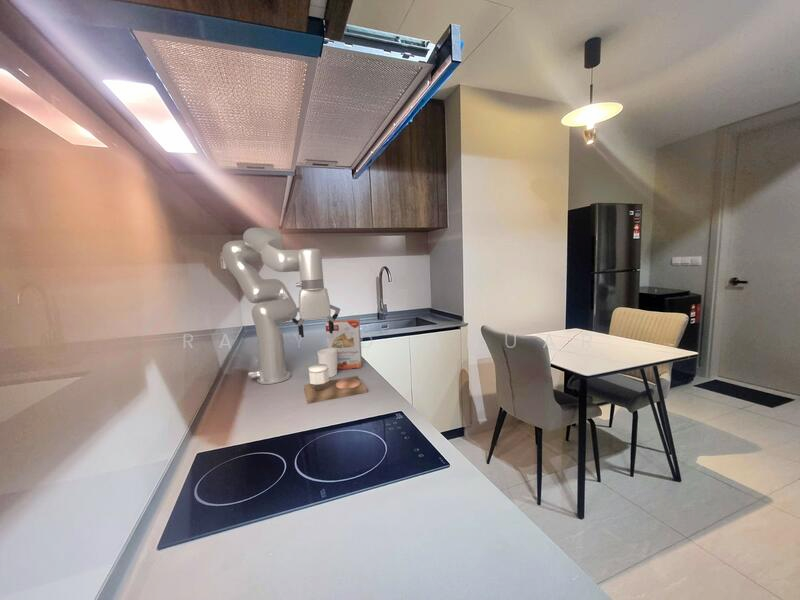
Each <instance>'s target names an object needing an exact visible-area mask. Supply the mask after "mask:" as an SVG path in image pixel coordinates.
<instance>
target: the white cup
mask: <svg viewBox="0 0 800 600" xmlns="http://www.w3.org/2000/svg"><path fill="white" fill-rule="evenodd" d="M316 354H317V355H316V356H317V360H318V361H317V362H318V363H317V364H326V365H328V371H329V378H333V377H336V376H337V375H338V369H337V350H336V349H327V348H323V349H320V350H317V353H316ZM335 375H336V376H335Z"/></svg>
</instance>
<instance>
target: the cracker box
mask: <svg viewBox="0 0 800 600" xmlns="http://www.w3.org/2000/svg"><path fill="white" fill-rule="evenodd" d="M328 322H329V319H328V320H327V321H326V322H325V337H326V349H336V350H337V370H353V369H352V368H357V369H361V368H362V365H363V360H362V359H363V358H362V357H363V356H362V340H361V323H360V318H355V319H354V318H353V319H352V318H351V319H335V320H334V322H333V323H334V331H333V334H331V333H330V332H329V323H328Z"/></svg>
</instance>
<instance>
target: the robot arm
mask: <svg viewBox="0 0 800 600" xmlns="http://www.w3.org/2000/svg"><path fill="white" fill-rule="evenodd" d="M242 239H243V240H241V239H237V240H230V241H228V242H226V243H225V244H223V247H222V258H223V261H224V264H225V266H226V268H227V269H228V271H230V273H231V274H232V275H233V276H234V278H235V279H236V280H237V283H238V285H239V287H240V288H241V290H242V292H243V294H244V296H245V297H246V299H247V300H248V302H249V303H252V304H255V305H253V307H252V309H251V316H252V321H253V323H254V326H255V327H254V328H255V332H256V339H257V348H258V356H259V357H258V360H259V369H257V370H256V371H249V372H248V377H249V378H251V379H254V378H257V379H256V380H257V383H258V384H261V385H273V384H278V383H281V382H286V381H287V380H289V379H290V378H291V376H292V375H291V372H290V371H287V366H286V365H287V364H286V363H287V362H286V357H285V354H286V353H285V344H284V343H285V342H284V335H283V332H282V330H281V329H280V328H279V326H277V325H278V324H282V323H286V322H291V321H292V323H294V324H295V325H296V326H297V328H298V335H299V336H300V337H301V338H304V337H305V335H304V326H303V325H304V324H303V323H304V322H305V321H309V320H310V321H311V320H318V319H320V320H321V319H328V320H329V322H328V323H329V332H330V333H331V334H333V331H334V323H333V322H334V320H337V318H338V317H339V314H340V311H341V309H340V308H339V307H337V306H335V305H332V304H331V303H330V297H329V292H328V288H325V283H324V272H323V271H324V269H323V260H322V251H321V250H320V248H302V249H284V244H283V241H284V239H283V235H282V233H281V232H280V231H279V230H278V229H276V228H272V227H271V228H269V227H250V228H248V229H246V230H244V233H243V235H242ZM260 261H262V262H263V263H262V264H264V265H265V266H266V267H268V268H269V269H271V270H272V271H275V272H278V273H289V272H290V273H291V272H295V273H296V272H299V278H300V279H299V280H300V281H299V282H296V284H295V285H296V288H300V290H299V291H298V307H297V304H296V303H295V300H294V298H293V297H292V295H291V294H290V292H289V290H288V288H287V286H286V285H285V284H284V282H283V281H281V280H280V279H276V278H267V279H264V278H262V276H261V275H260V274H259V272H258V271H257V269H256V268H255V267H254V266H252V265H251V264H249V263H248V262H260ZM331 310H332V311H334V314H333V315H331V314H332V312H331ZM298 314H299V319H297V316H298Z"/></svg>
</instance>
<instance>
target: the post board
mask: <svg viewBox="0 0 800 600" xmlns="http://www.w3.org/2000/svg"><path fill="white" fill-rule="evenodd" d="M303 389H304V395H305V400H306V404H307V405H308V404H314V403H315V404H316V403H318V402H319V403H320V402H325V401H329V400H331V401H332V400H335V399H341V398H346V397H350V396H355V395H362V394H367V393H368V388H367V386H366V385H365V384H364V383H363V380H361V379H360V377H359V376H358V375H354V376H349V377H348V376H347V377H344V378H337V379H331V380H330V379H329V381H328V382H326V383H324V384H318V385H317V384H316V385H315V384H310V383H307V384H303Z"/></svg>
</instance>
